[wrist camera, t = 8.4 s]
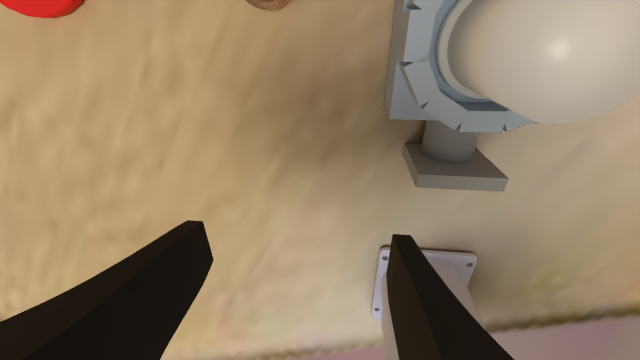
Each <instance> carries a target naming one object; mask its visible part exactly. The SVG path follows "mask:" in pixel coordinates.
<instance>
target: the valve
mask: <svg viewBox="0 0 640 360" xmlns="http://www.w3.org/2000/svg"><path fill="white" fill-rule="evenodd" d="M456 1H457V0H395V9H394V18H393V27H392V36H391V45H390V54H389V63H388V72H387V81H386V90H385V99H384V107H385V109H386V112H387V114H388V117H389V119H399V120H426V125H425V130H424V135H423V141H422V144H404V150H403V156H404V158H405V161H406V163H407V166H408V168H409V171H410V173H411V176H412V178H413V181H414V183H415V186H416V187H423V188H443V189H464V190H484V191H504V189H505V186H506V184H507V181H508V179H509V178H507V177H506V176H505V175H504V174H503V173H502V172H501V171H500V170H499V169H498V168H497V167H496V166H495V165H494V164H493V163H492V162H491V161H489V160H488V159H487V158H486V157H485V156H484V155H483V154H482V153H481V152H480V151H479V150H478V149H477V148H476V147H475V146H476V142H477V139H478V136H479V132H486V133H502V130H505V131H506V132H508V131H510V130H513V129H515V128H517V127H520V126H522V125H525V124H527V123H540V122H536V121H533V120H531V119H528V118H526V117H524V116H522V115H520V114H518V113H516V112H514V111H512V110H510V109H508V108H506V107H504V106H502V105H500V104H498V103H496V102H494V101H492V100H490V99H479V98H473V97H469V96H466V95H464V94H461V93H460V92H458V91H456V90H455V89H453V88H451V87H450V86H449V85H447V84H446V83H445V82H444V80H443V79H442V78H441V76H440V75H439V73H438V70H437V68H436V64H435V59H434V45H435V39H436V35H437V32H438V29H439V27H440V24H441V22H442V20H443V18H444V16H445V15H446V13H447V12H448V10H449V9H450V8H451V6H452V5H453V4H454V3H455V2H456Z"/></svg>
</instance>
